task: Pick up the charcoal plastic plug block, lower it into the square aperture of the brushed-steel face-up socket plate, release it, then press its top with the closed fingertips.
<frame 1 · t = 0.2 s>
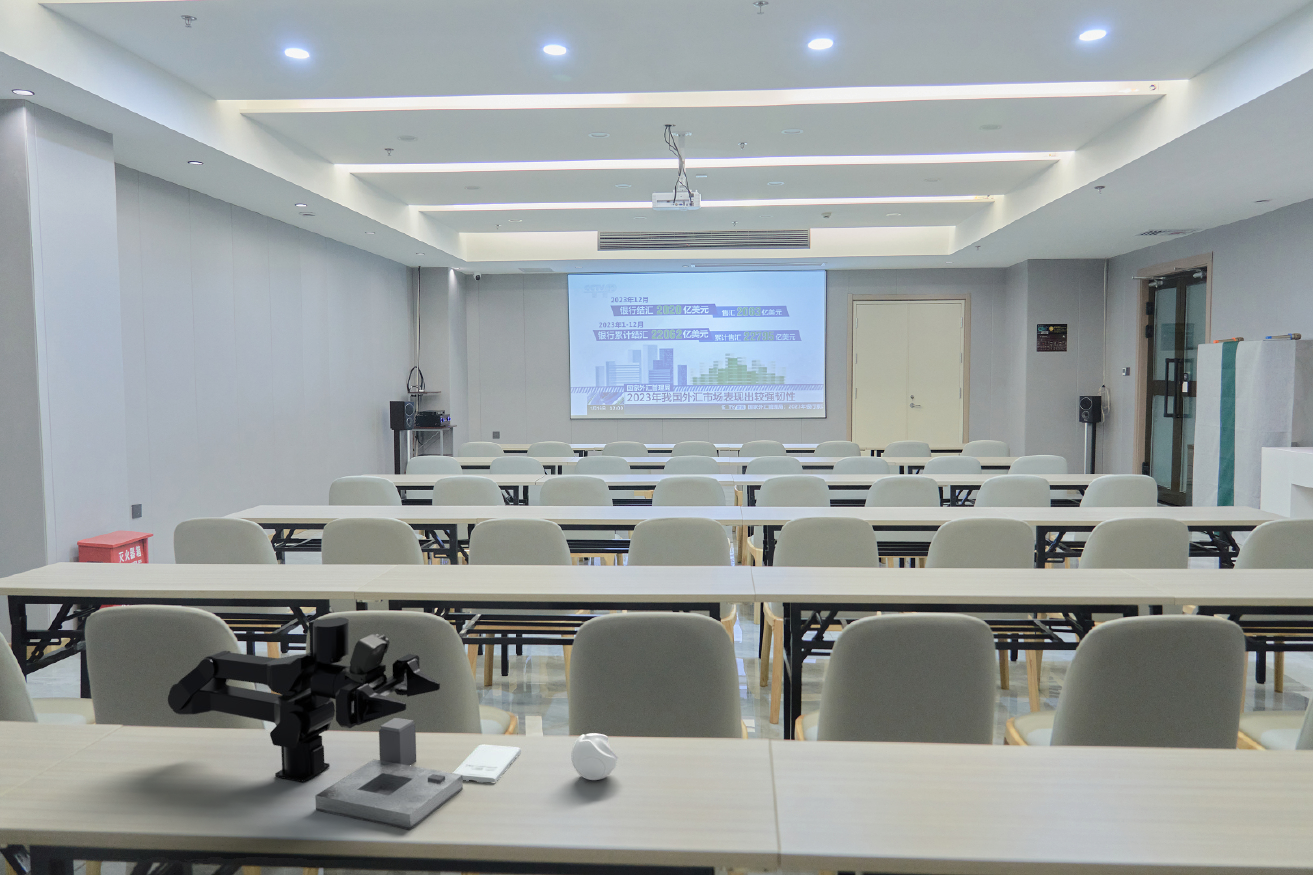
hand: (423, 696, 140), 16 cm above the table, tool horizontal, fingers open, 9 cm apart
motion sensor: (594, 778, 146), on the table
socket: (391, 799, 139), on the table
plug: (398, 764, 152), on the table
external hard drive: (486, 769, 151), on the table
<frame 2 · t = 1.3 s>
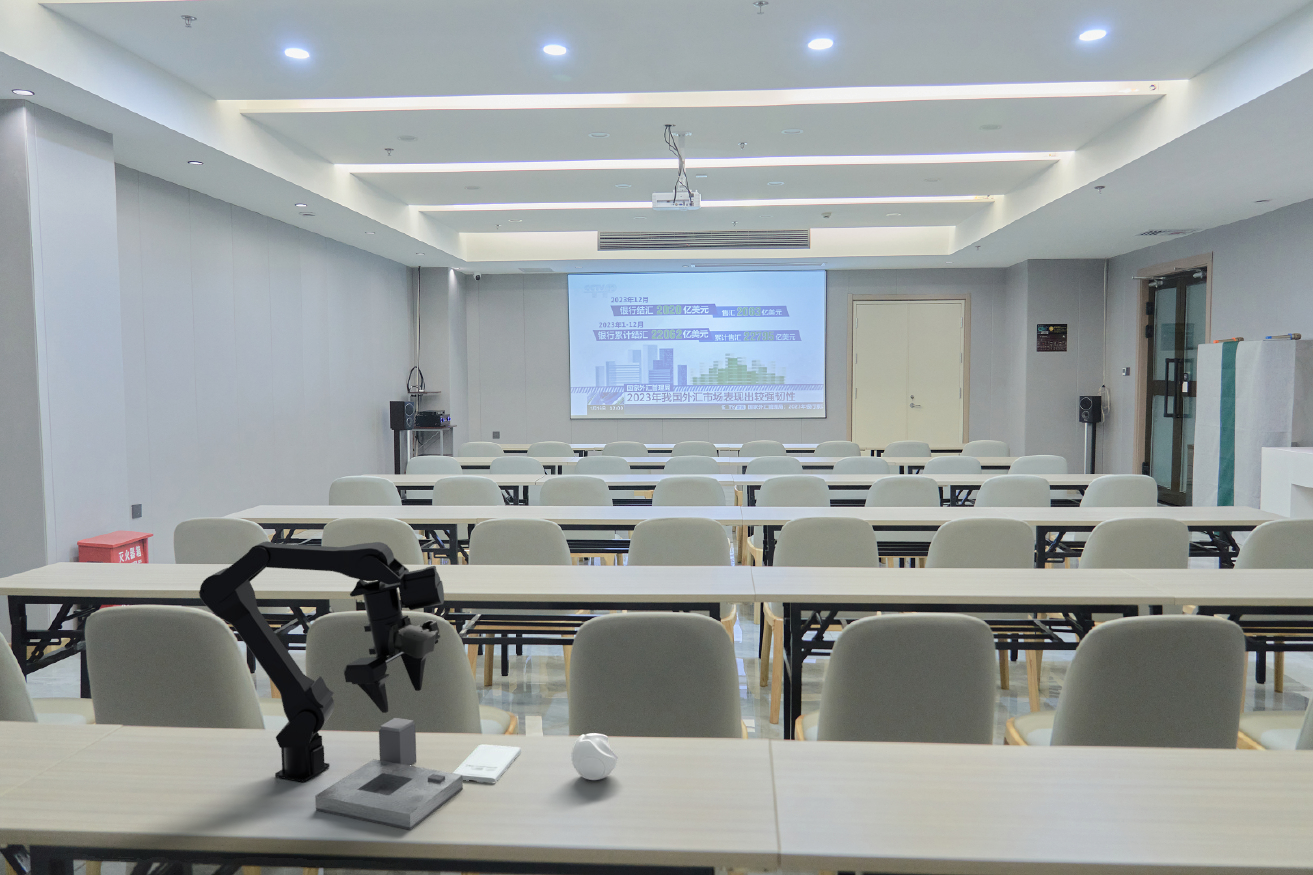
hand: (402, 700, 151), 12 cm above the table, tool pointing down, fingers open, 9 cm apart
nothing on the table moved.
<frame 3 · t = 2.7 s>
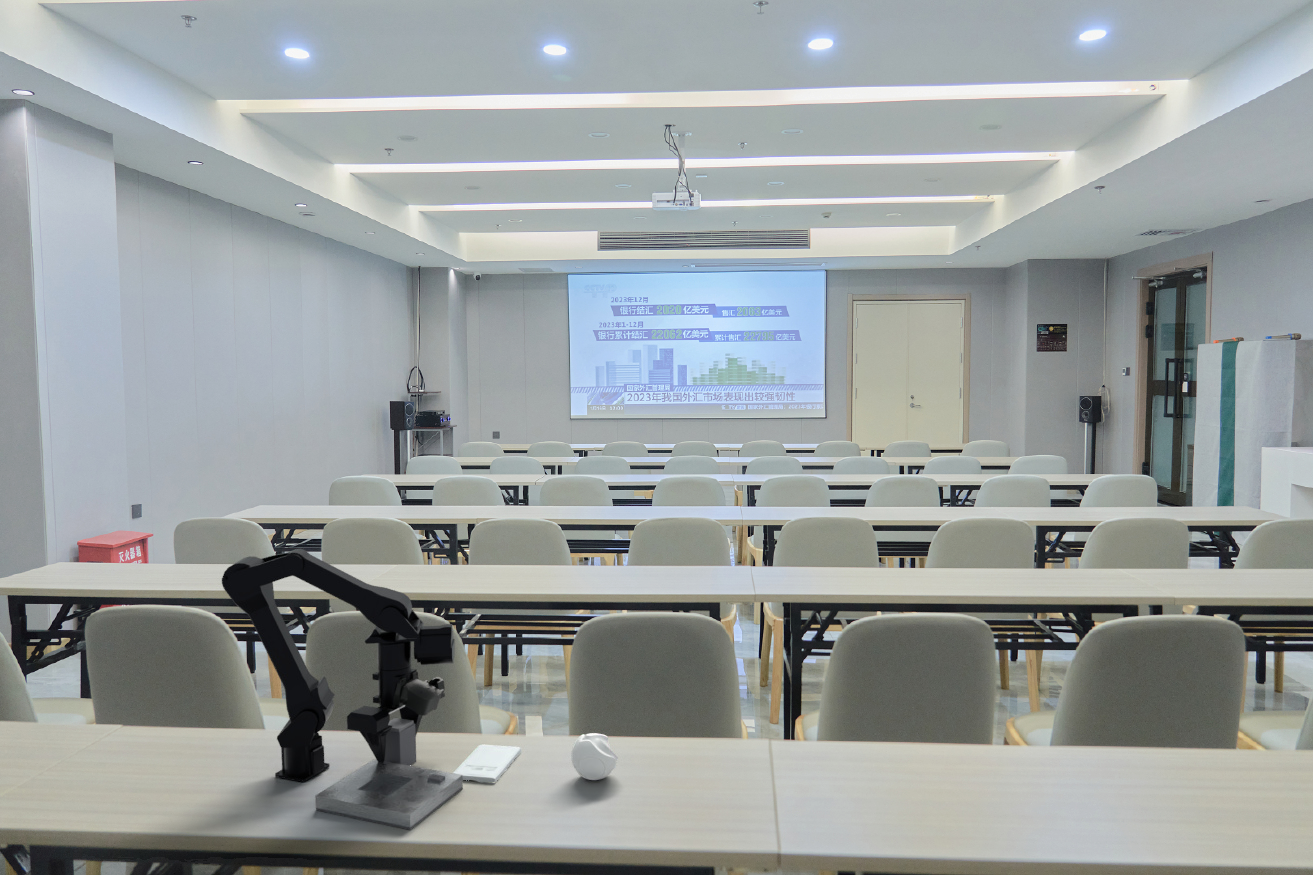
hand: (396, 753, 151), 2 cm above the table, tool pointing down, fingers open, 8 cm apart
nothing on the table moved.
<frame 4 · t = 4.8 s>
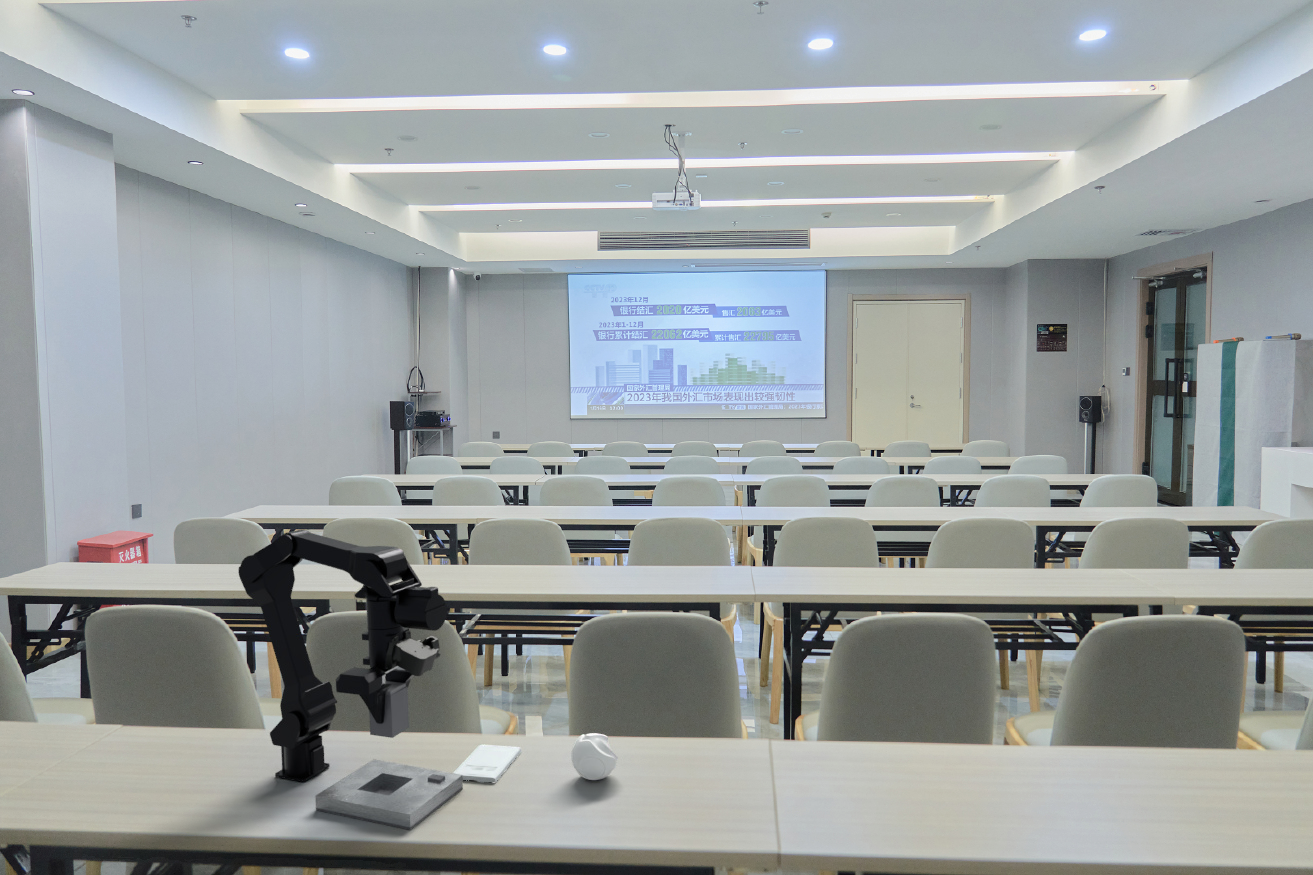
hand: (389, 717, 142), 12 cm above the table, tool pointing down, fingers closed on plug, 4 cm apart
plug: (389, 730, 142), point 10 cm above the table, touching gripper
everything else where it was.
when the fingers open (4 cm above the table, at t = 6.6 s): plug stays where it is, resting on socket.
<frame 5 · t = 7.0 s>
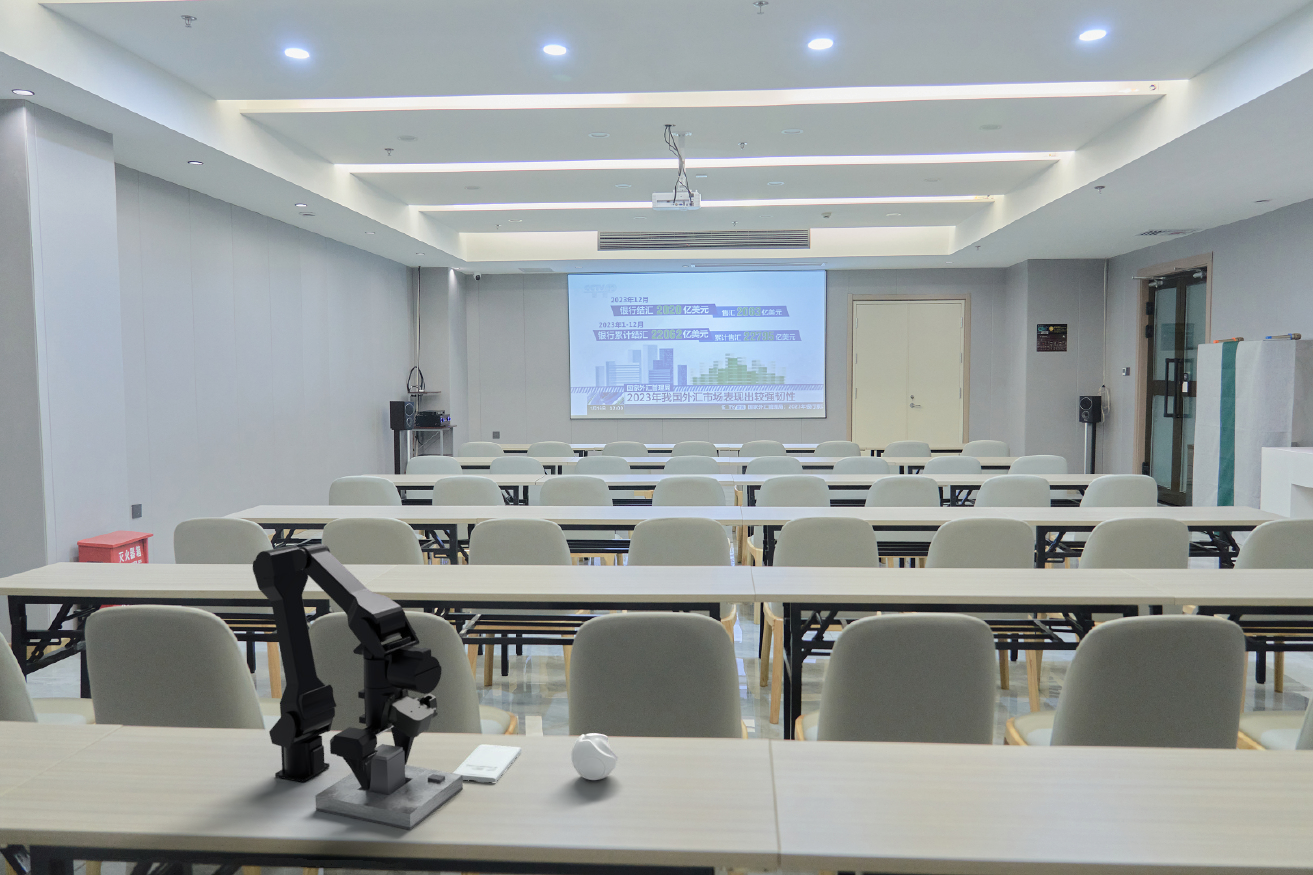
hand: (385, 776, 139), 4 cm above the table, tool pointing down, fingers open, 9 cm apart
plug: (385, 795, 140), resting on socket
everything else where it was.
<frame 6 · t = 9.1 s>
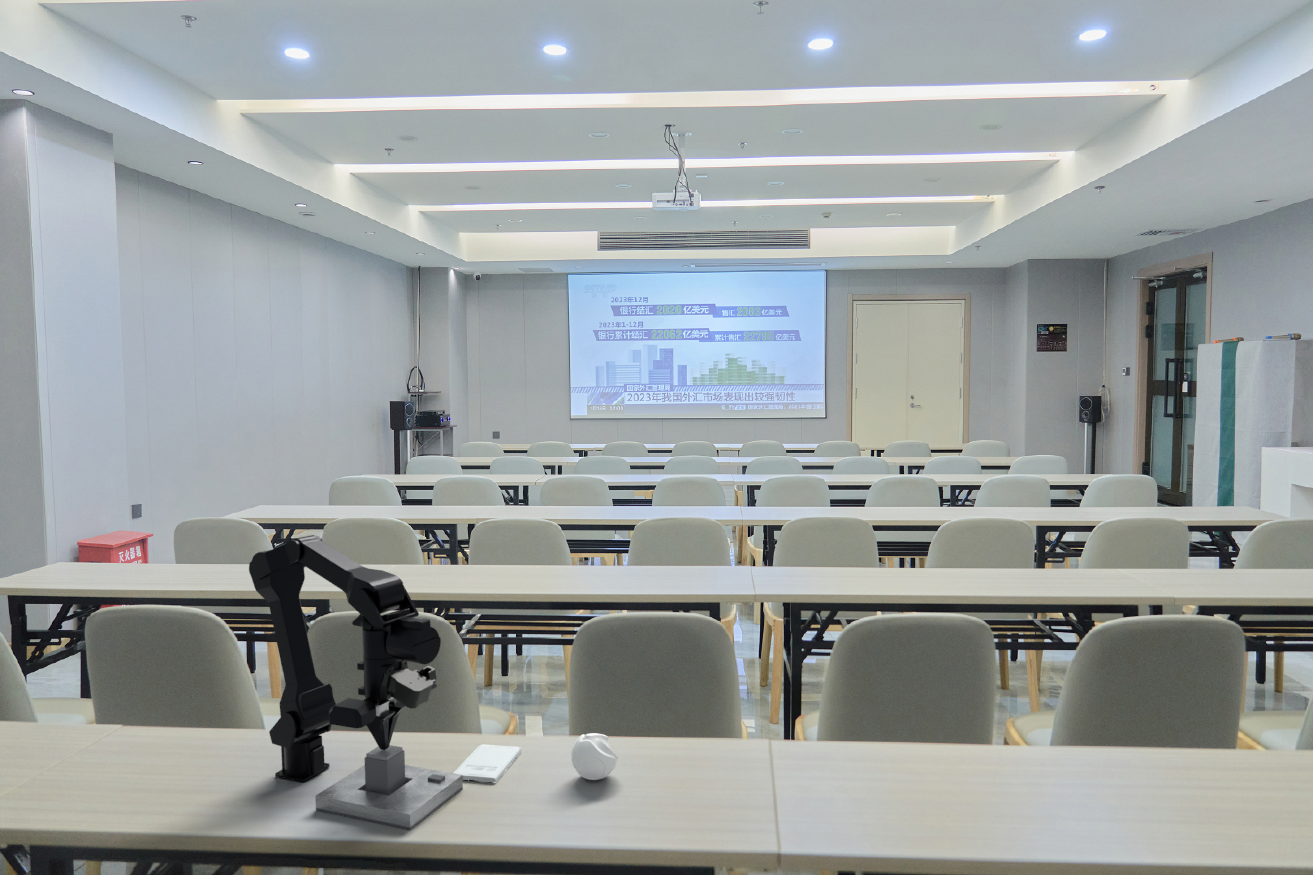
hand: (384, 748, 139), 8 cm above the table, tool pointing down, fingers closed
nothing on the table moved.
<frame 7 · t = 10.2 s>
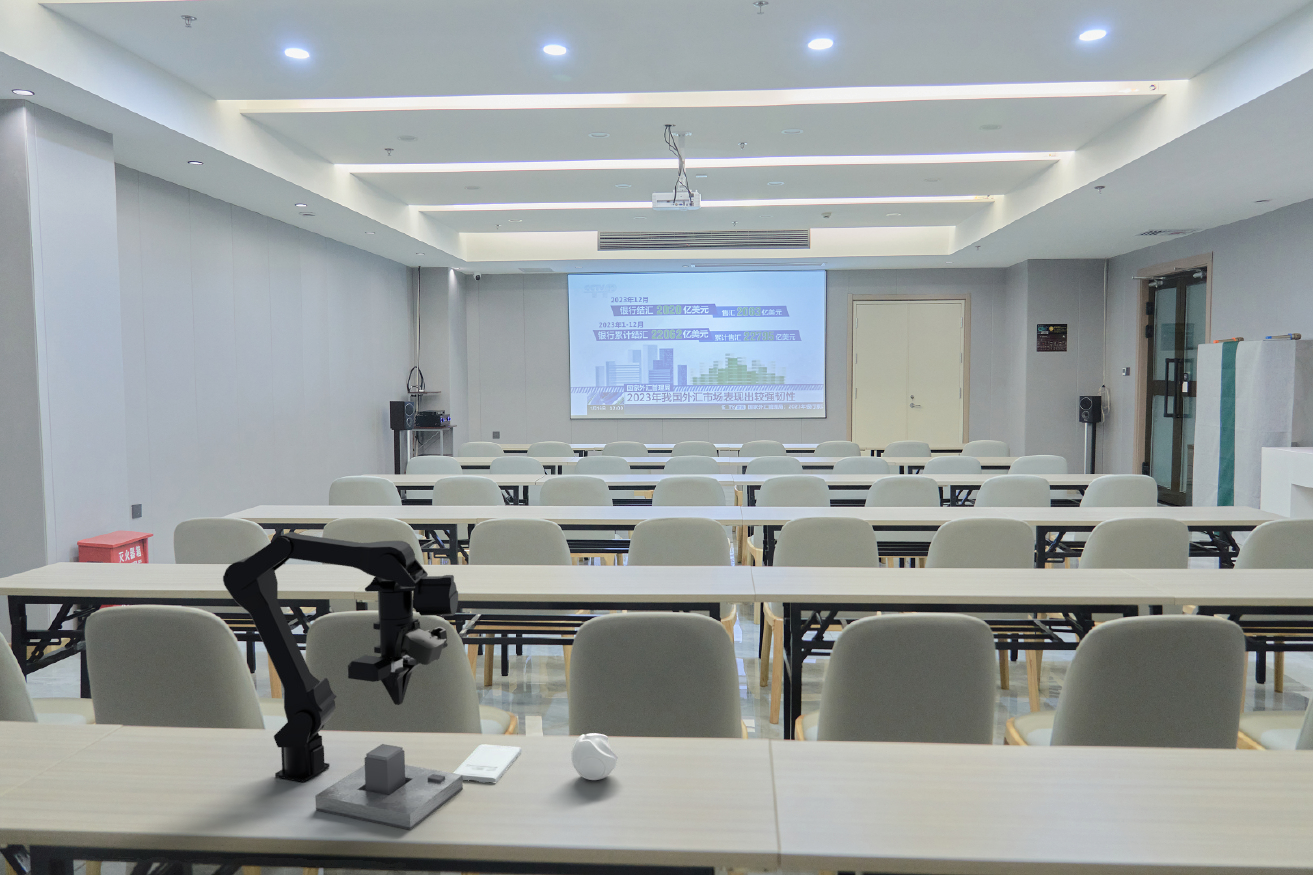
hand: (398, 704, 149), 12 cm above the table, tool pointing down, fingers closed
nothing on the table moved.
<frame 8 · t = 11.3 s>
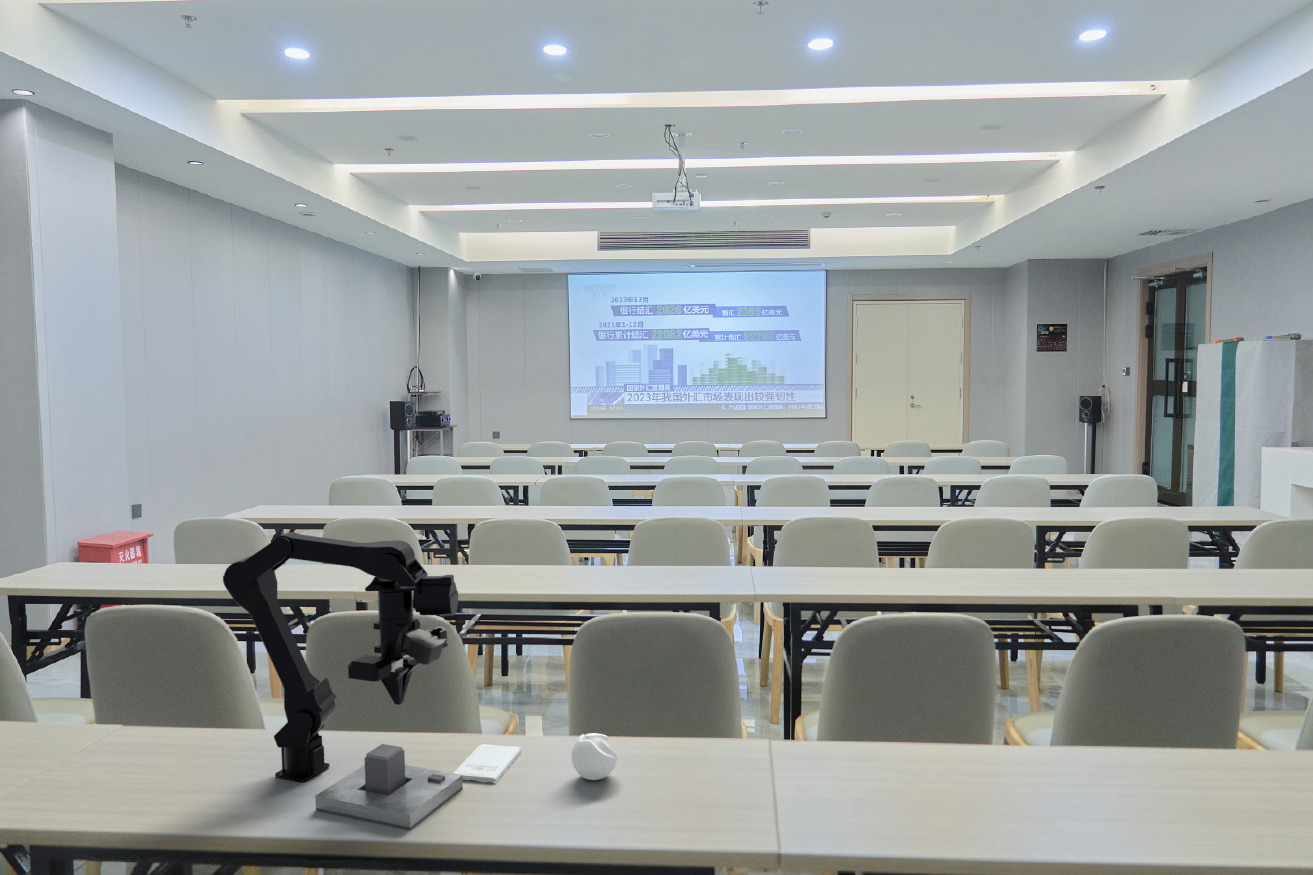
hand: (398, 703, 149), 12 cm above the table, tool pointing down, fingers closed
nothing on the table moved.
at the end: plug 0.0 cm from the target spot on the socket, point 0.4 cm above the socket's base; plug tilted 0°; the gripper is holding nothing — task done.
